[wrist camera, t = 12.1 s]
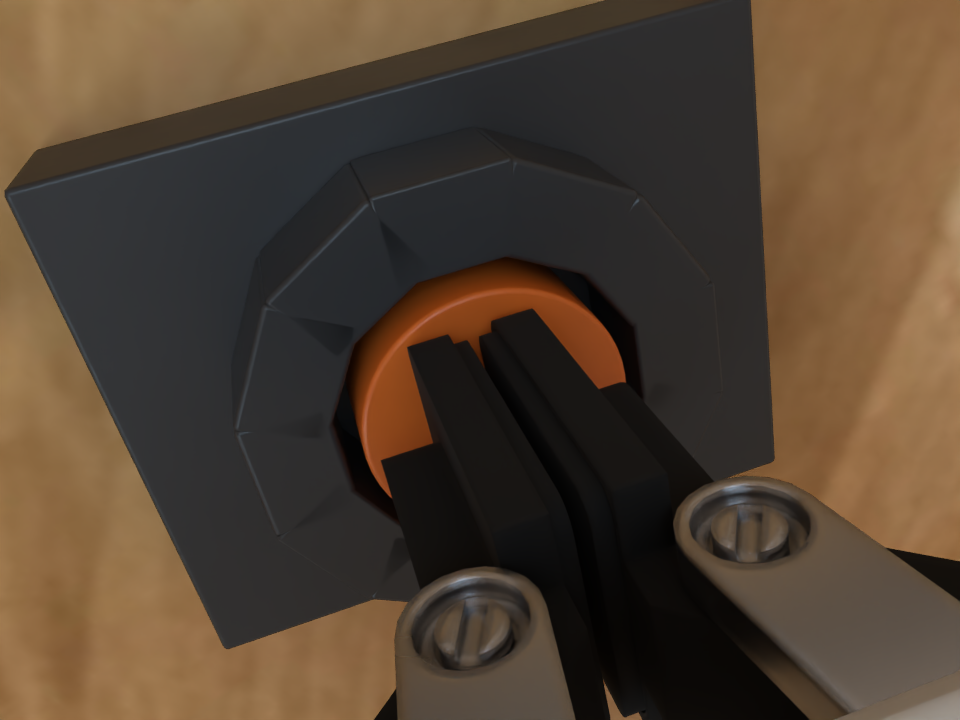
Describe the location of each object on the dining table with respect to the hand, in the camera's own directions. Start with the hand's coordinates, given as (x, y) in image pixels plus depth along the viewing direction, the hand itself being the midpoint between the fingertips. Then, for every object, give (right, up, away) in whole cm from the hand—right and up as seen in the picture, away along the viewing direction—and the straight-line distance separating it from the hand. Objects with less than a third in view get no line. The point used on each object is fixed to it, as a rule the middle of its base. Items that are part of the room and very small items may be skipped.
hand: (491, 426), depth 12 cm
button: (0, +1, +2) cm, 2 cm away
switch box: (-1, +2, +4) cm, 4 cm away
